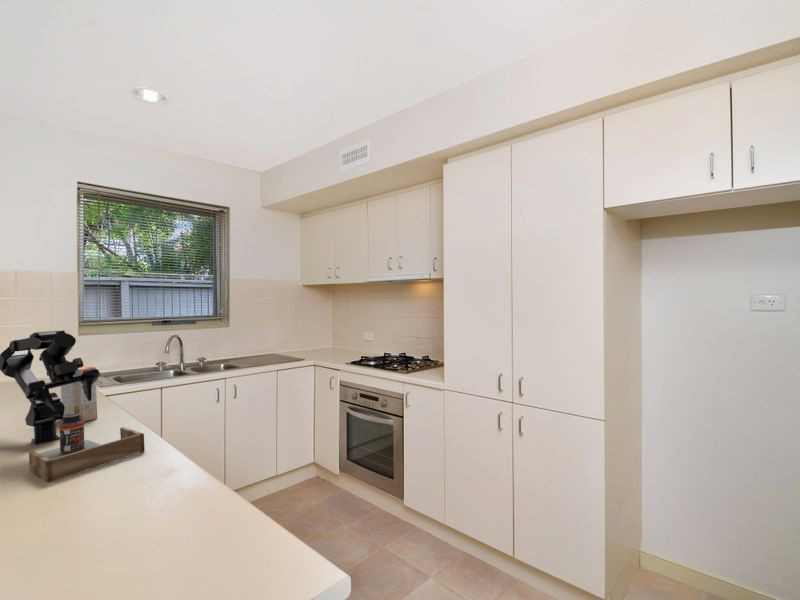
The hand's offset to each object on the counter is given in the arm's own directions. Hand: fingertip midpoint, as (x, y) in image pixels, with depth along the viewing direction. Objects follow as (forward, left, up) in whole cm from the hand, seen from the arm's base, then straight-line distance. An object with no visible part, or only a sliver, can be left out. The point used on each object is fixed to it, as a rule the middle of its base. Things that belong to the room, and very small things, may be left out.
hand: (73, 405), depth 132 cm
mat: (+3, -2, -14) cm, 14 cm away
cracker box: (-38, +10, -14) cm, 42 cm away
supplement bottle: (+4, -2, -14) cm, 14 cm away
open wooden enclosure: (+16, 0, -14) cm, 21 cm away
